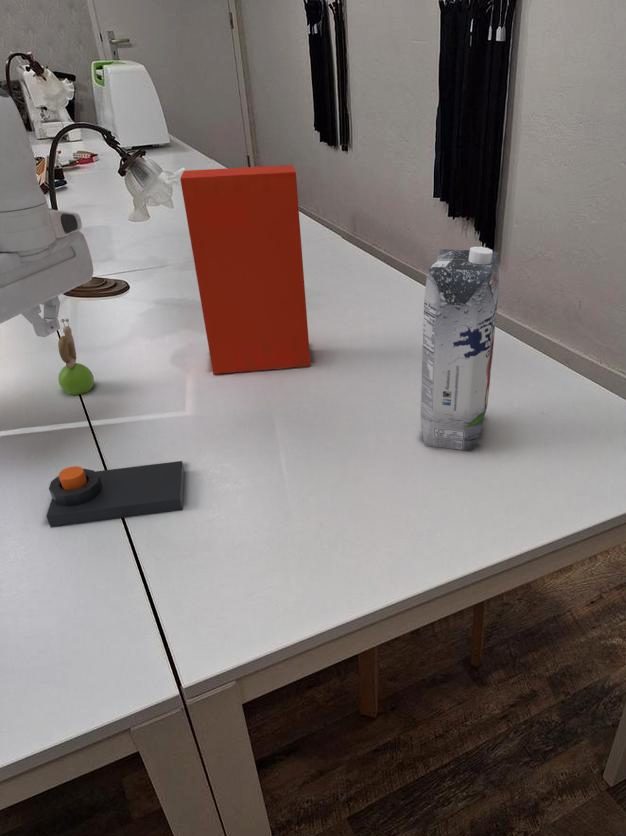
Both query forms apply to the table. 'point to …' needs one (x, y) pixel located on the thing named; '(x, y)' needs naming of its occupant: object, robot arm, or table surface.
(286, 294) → the file binder
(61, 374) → the snail figurine
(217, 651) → the table surface
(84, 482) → the button
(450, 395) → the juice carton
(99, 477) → the orange push button base
